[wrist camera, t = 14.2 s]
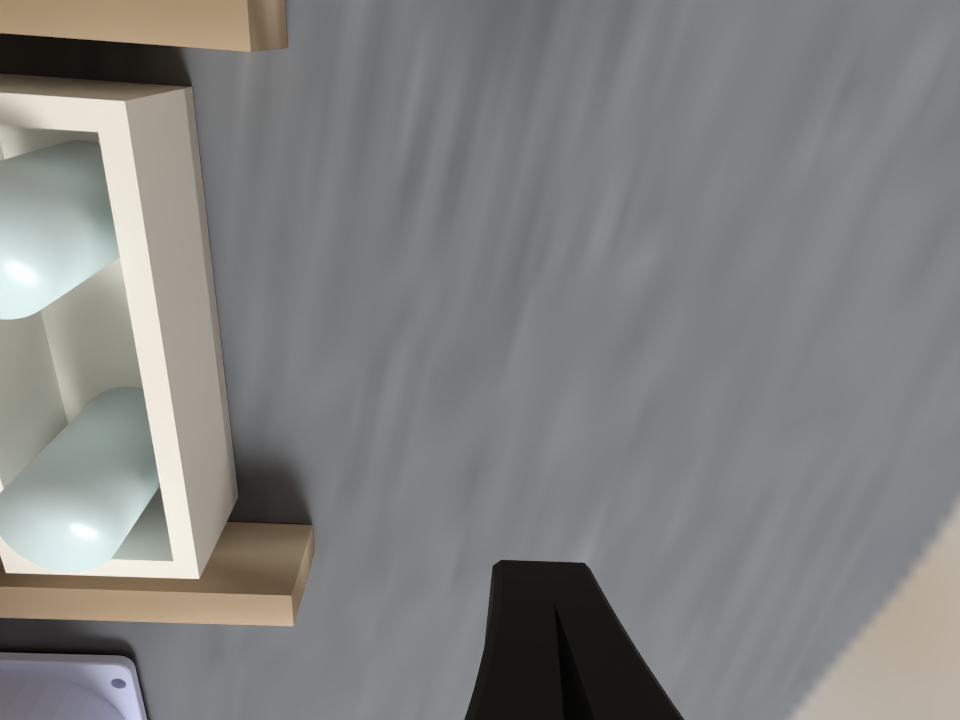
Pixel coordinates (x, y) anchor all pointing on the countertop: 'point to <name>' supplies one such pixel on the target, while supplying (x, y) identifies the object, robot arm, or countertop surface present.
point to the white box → (108, 334)
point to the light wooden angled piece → (241, 546)
